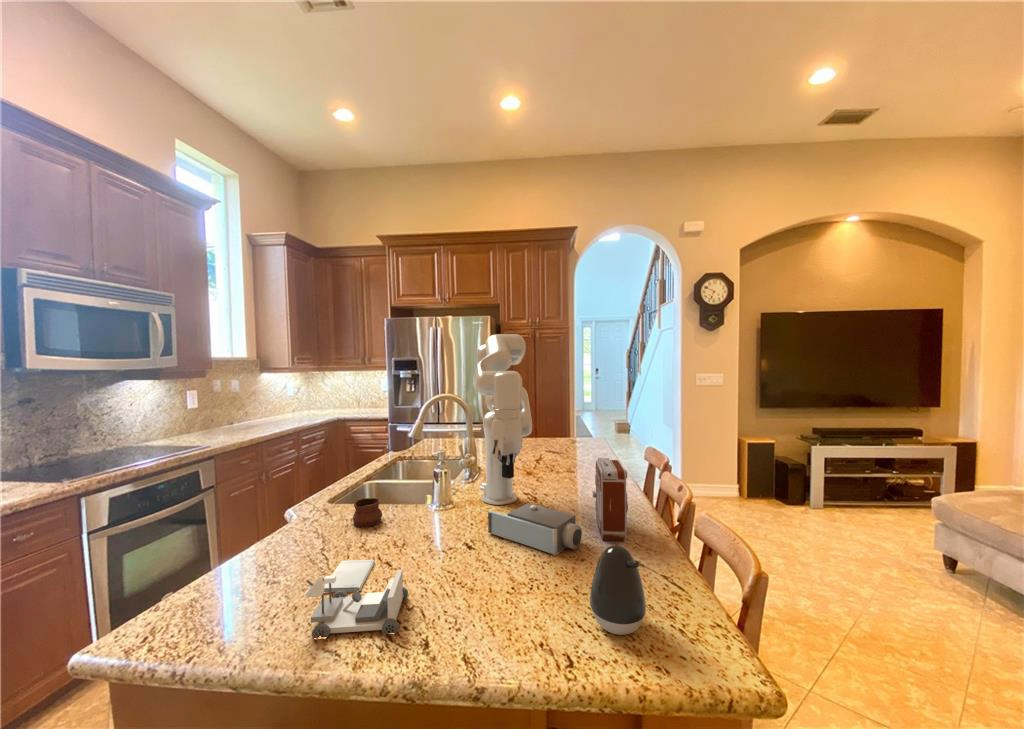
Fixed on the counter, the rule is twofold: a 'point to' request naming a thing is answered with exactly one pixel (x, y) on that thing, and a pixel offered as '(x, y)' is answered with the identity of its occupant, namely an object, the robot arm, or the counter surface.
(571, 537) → the block
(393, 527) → the counter surface
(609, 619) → the dark grey egg-shaped piece
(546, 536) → the side door
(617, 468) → the cine camera
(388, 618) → the toy car
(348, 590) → the hard drive
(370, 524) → the ceramic pot
